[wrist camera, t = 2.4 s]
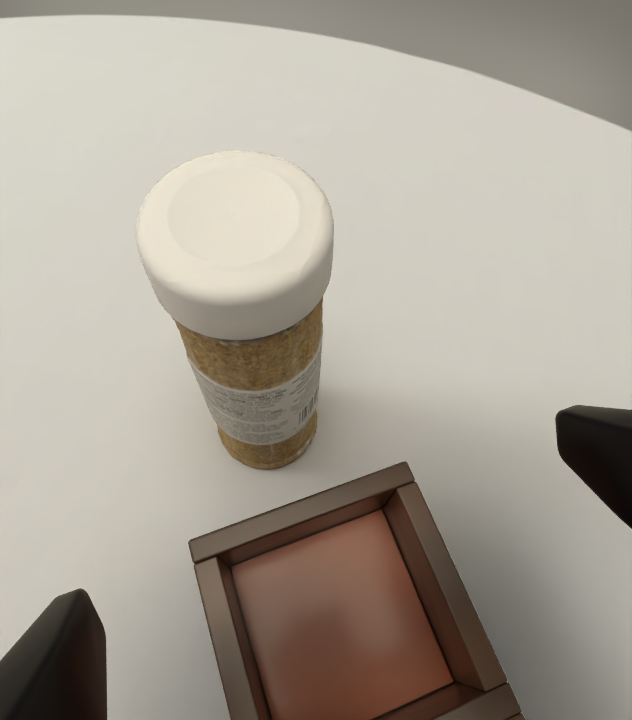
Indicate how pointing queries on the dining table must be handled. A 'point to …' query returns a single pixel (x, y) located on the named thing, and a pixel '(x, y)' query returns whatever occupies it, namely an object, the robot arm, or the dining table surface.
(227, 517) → the dining table surface
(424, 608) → the wooden divided tray
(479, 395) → the dining table surface
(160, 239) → the sprinkles bottle
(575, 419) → the robot arm
